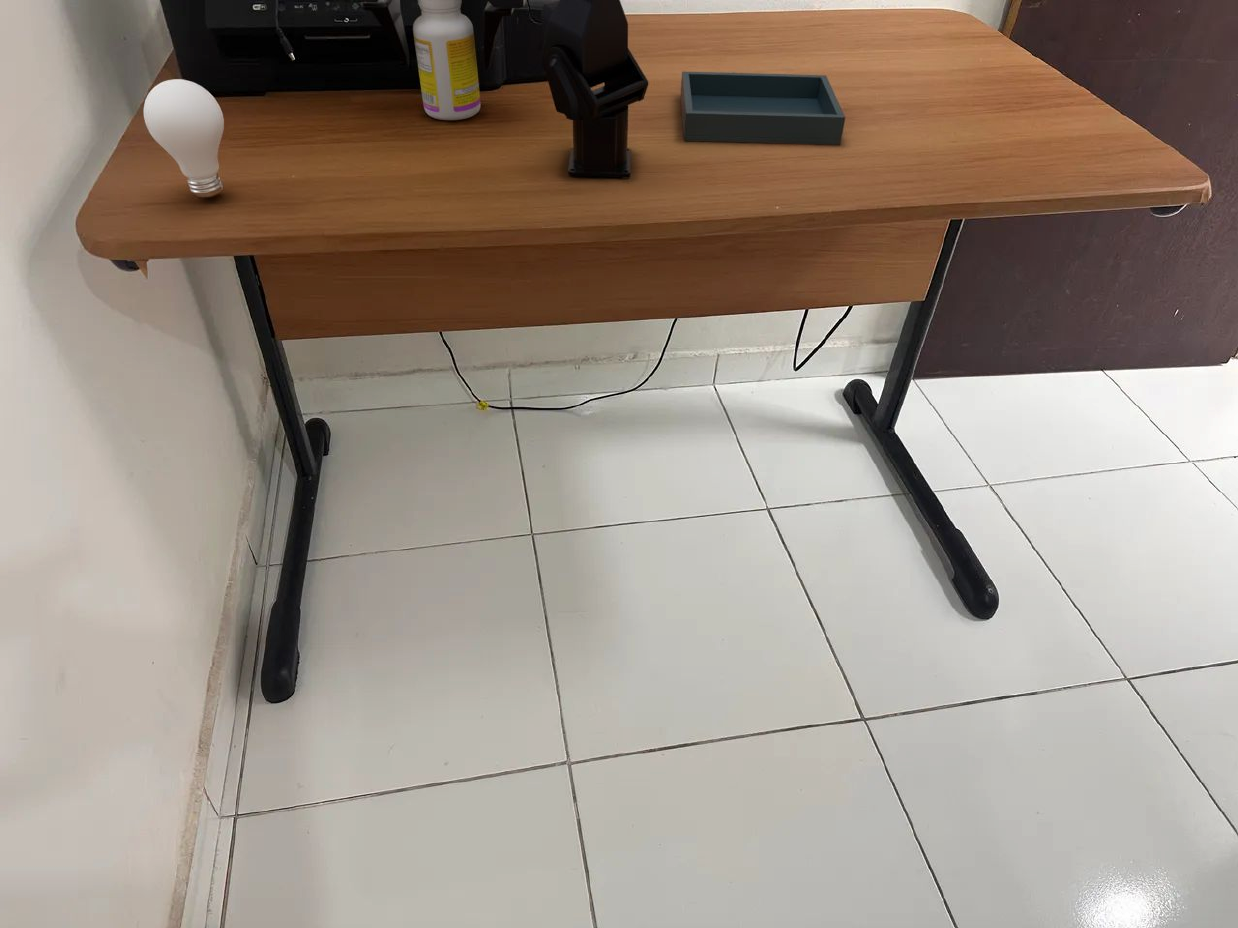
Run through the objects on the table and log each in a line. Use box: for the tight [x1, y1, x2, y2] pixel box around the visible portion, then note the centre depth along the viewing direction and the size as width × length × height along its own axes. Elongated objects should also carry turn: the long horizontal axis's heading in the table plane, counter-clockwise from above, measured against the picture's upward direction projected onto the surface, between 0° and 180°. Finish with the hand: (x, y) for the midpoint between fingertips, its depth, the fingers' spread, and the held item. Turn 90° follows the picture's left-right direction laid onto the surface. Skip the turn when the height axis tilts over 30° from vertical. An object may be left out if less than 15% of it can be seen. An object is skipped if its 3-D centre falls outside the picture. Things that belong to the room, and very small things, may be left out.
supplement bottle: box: [412, 0, 482, 121], centre depth 98 cm, size 7×7×13 cm
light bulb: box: [143, 78, 225, 199], centre depth 81 cm, size 7×7×11 cm
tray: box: [679, 70, 846, 146], centre depth 101 cm, size 14×18×3 cm
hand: (447, 66), depth 99 cm, fingers open, 9 cm apart
